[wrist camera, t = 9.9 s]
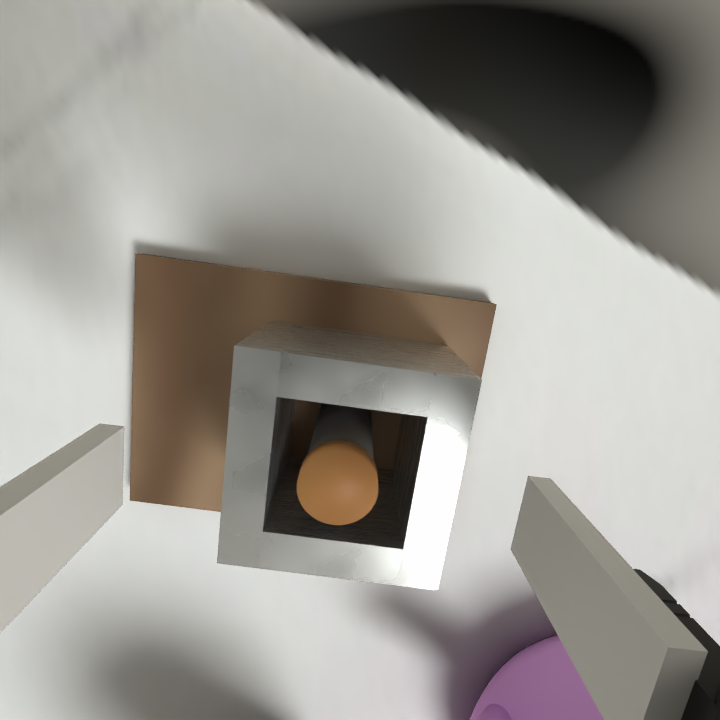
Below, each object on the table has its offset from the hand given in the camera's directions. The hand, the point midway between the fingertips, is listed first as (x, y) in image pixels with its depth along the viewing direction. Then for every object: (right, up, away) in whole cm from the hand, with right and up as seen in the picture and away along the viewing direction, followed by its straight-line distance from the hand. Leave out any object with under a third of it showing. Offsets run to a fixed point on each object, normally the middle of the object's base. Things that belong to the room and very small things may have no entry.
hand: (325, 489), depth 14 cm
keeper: (-2, +2, +7) cm, 8 cm away
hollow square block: (+1, +2, +7) cm, 7 cm away
